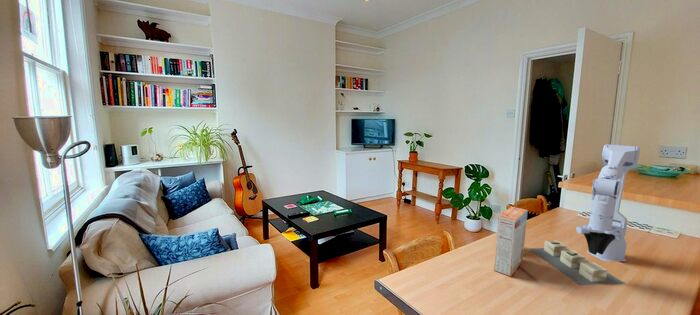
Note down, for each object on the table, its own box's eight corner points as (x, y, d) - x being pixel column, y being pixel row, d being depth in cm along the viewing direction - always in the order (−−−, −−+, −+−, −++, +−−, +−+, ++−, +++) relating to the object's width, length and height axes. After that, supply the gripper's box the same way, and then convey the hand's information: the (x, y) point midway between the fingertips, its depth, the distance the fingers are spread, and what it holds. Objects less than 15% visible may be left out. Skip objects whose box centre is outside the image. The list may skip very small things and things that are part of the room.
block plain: (592, 272, 102) (594, 262, 101) (605, 281, 97) (607, 270, 96) (578, 273, 101) (580, 262, 101) (591, 281, 96) (593, 270, 96)
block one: (555, 249, 118) (556, 239, 118) (565, 255, 113) (566, 245, 113) (543, 249, 118) (544, 240, 117) (552, 256, 113) (554, 246, 112)
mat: (565, 248, 120) (565, 247, 120) (625, 285, 96) (625, 283, 95) (528, 249, 119) (528, 248, 119) (579, 286, 95) (579, 284, 94)
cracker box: (505, 257, 113) (511, 205, 110) (523, 262, 109) (529, 209, 106) (492, 270, 104) (497, 214, 100) (510, 277, 99) (517, 219, 96)
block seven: (572, 260, 110) (574, 250, 109) (583, 267, 105) (585, 256, 104) (559, 260, 110) (561, 250, 109) (570, 267, 105) (572, 257, 104)
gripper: (591, 219, 91) (585, 259, 93) (635, 218, 92) (628, 258, 94) (573, 211, 98) (567, 249, 100) (613, 210, 99) (607, 248, 101)
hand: (595, 253), depth 97 cm, fingers closed
